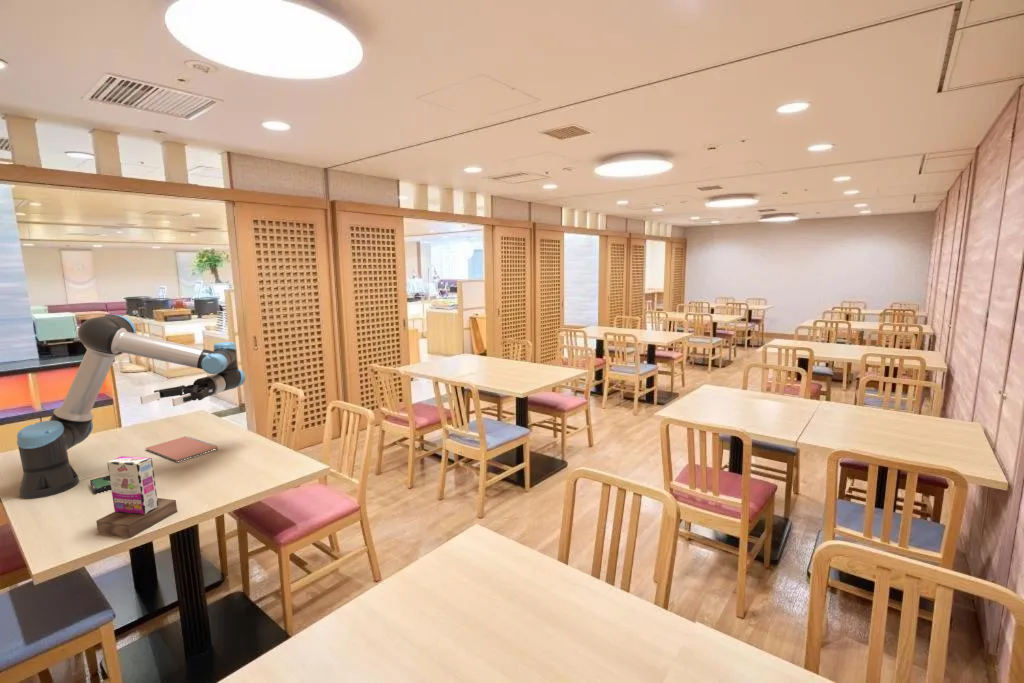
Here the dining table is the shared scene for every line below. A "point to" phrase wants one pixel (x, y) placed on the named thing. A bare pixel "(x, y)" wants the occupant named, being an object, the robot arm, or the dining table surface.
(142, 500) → the candy bar box
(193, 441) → the notebook
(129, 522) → the wooden block
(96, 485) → the disk drive
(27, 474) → the robot arm
